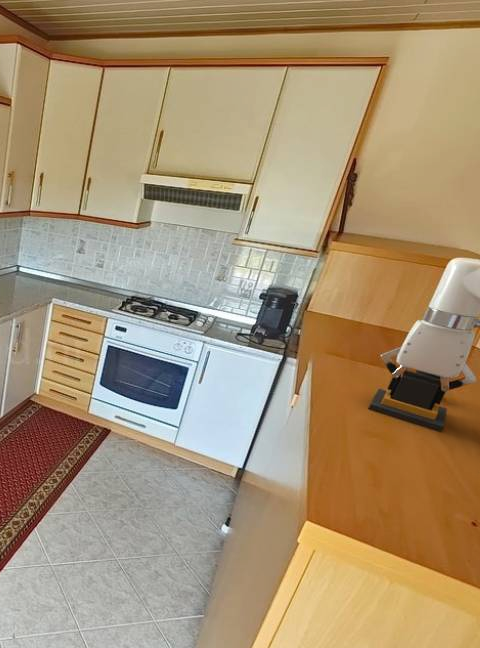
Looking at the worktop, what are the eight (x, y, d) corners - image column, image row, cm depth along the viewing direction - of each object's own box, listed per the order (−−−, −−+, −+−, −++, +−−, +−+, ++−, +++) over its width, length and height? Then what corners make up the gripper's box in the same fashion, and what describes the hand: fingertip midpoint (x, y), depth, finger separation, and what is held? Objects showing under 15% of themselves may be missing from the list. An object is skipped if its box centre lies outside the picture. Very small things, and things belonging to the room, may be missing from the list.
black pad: (427, 410, 101) (439, 386, 99) (391, 399, 105) (402, 376, 103) (429, 402, 106) (440, 379, 104) (394, 392, 109) (404, 369, 107)
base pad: (441, 432, 97) (447, 420, 96) (368, 408, 105) (373, 397, 104) (444, 413, 107) (449, 402, 106) (376, 393, 115) (381, 382, 114)
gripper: (507, 329, 96) (465, 410, 102) (396, 306, 107) (364, 381, 113) (509, 335, 91) (464, 420, 97) (392, 311, 102) (359, 389, 108)
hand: (411, 398), depth 105 cm, fingers closed on black pad, 6 cm apart
